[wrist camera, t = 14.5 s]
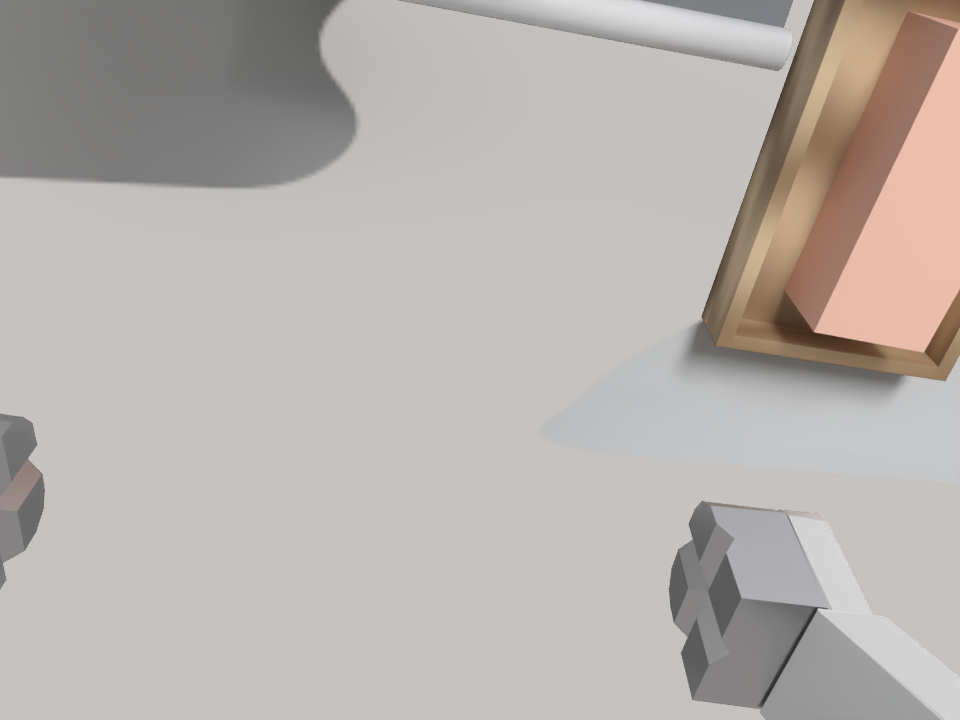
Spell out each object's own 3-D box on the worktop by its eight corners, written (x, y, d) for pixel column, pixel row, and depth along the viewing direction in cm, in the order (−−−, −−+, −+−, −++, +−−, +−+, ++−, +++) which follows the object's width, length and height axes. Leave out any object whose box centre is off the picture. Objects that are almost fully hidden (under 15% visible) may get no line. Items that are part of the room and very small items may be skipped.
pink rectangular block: (908, 11, 29) (958, 29, 26) (1026, 38, 29) (1089, 59, 26) (784, 290, 34) (813, 332, 31) (885, 309, 35) (923, 352, 32)
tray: (845, -87, 28) (876, -83, 26) (1117, -31, 29) (1169, -22, 27) (701, 316, 36) (715, 345, 34) (917, 350, 37) (945, 381, 35)
